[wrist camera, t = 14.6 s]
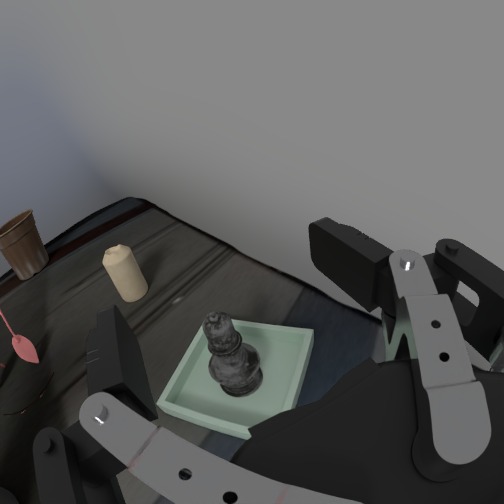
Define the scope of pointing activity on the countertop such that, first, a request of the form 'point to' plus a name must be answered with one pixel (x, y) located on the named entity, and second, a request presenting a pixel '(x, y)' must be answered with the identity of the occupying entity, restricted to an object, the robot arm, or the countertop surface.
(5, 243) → the plant pot
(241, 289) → the countertop surface
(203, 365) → the parts tray
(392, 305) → the robot arm
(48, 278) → the countertop surface
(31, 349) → the figurine
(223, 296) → the countertop surface
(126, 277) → the candle
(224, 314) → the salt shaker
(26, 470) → the countertop surface
